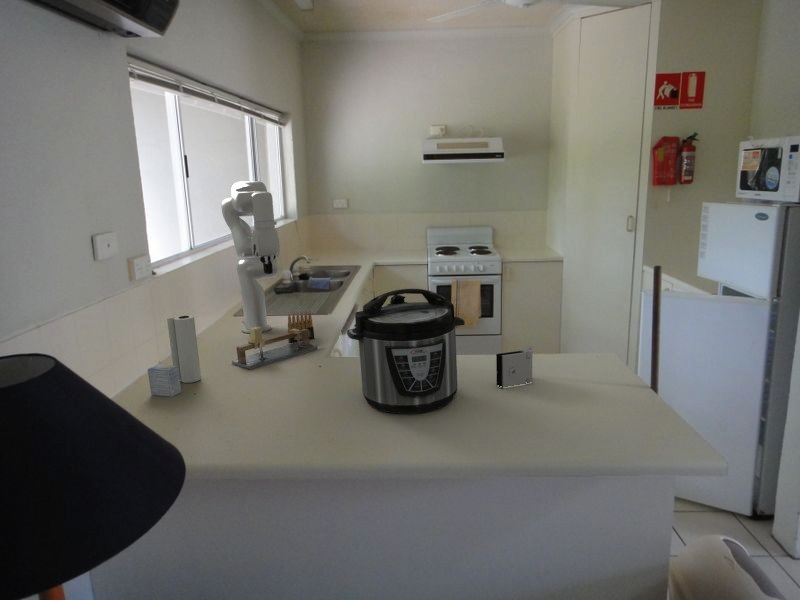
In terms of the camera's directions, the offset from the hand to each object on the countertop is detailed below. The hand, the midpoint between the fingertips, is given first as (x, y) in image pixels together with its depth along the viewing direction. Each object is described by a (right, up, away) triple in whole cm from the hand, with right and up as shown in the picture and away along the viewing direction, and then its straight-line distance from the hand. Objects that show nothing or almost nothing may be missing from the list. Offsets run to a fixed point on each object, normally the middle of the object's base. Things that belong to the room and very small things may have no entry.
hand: (268, 273), depth 220 cm
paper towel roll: (-18, -37, -32) cm, 52 cm away
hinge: (+86, -35, -48) cm, 104 cm away
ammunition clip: (+11, -27, +11) cm, 31 cm away
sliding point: (0, -31, -15) cm, 34 cm away
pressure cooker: (+54, -39, -57) cm, 88 cm away
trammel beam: (+5, -30, -10) cm, 32 cm away
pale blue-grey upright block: (-21, -39, -44) cm, 63 cm away
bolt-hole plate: (+5, -31, -9) cm, 33 cm away
